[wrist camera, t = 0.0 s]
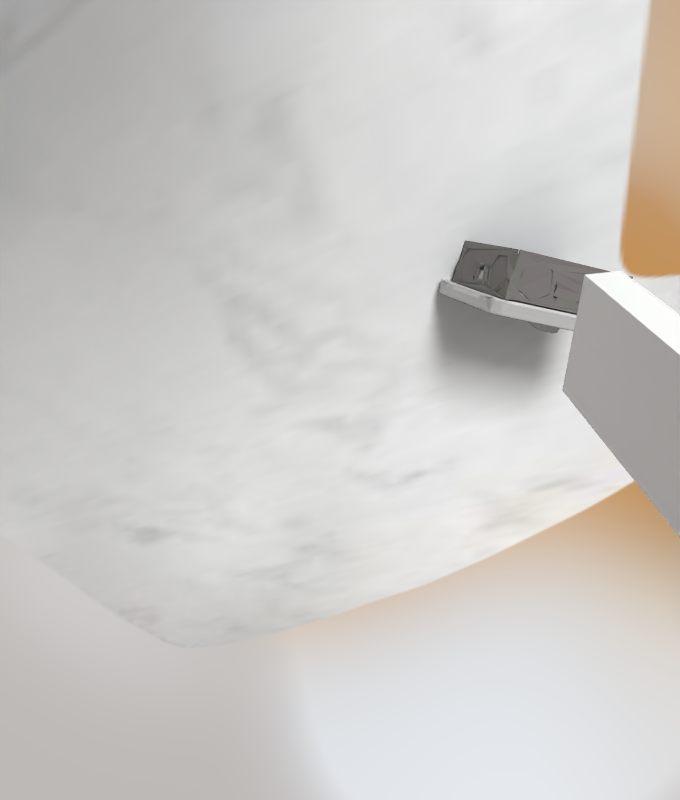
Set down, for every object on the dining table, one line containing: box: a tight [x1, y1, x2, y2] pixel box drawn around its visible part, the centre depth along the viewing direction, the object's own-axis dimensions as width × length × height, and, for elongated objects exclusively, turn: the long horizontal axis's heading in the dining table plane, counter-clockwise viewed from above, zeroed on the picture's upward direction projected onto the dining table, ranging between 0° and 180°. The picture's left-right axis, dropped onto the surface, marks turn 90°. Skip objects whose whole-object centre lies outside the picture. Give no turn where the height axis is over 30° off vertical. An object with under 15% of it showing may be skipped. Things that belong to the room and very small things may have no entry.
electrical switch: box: [439, 241, 633, 333], centre depth 39 cm, size 9×5×9 cm, turn 74°
